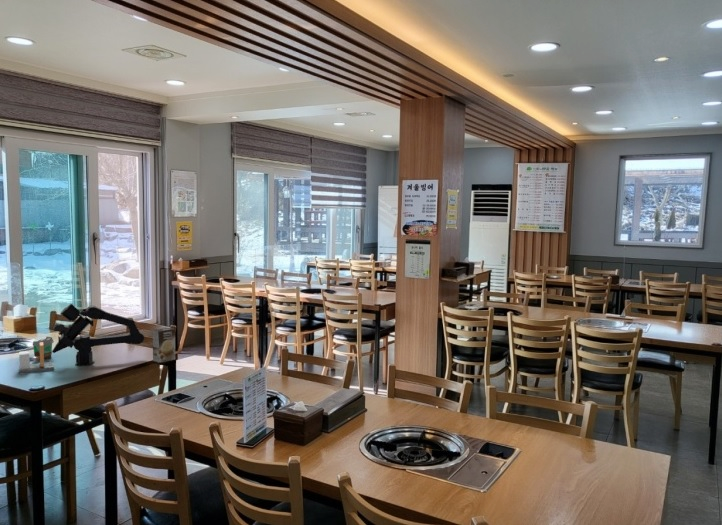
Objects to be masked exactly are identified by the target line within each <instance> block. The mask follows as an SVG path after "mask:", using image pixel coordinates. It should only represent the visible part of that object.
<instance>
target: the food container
mask: <svg viewBox="0 0 722 525" xmlns="http://www.w3.org/2000/svg"><path fill="white" fill-rule="evenodd" d="M39 342H43V345H44V361H45V360H46V361H47V360H49V359H51V358H52V353H53V352H52V351H53V343H54V338H53V337H52V336H46V337H45V338H43V339H39V340H38V341H37V340H34V341H32V346H33V353H34V354H33V355H34V356H33V357H39V356H40V344H39Z"/></svg>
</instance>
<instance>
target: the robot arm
mask: <svg viewBox="0 0 722 525" xmlns="http://www.w3.org/2000/svg"><path fill="white" fill-rule="evenodd" d="M59 315H60V316H62V317H64V318H65V319H66V320H67V321H68V322H73V323H71V324H69V325H65V324H62V323H59V322H55V324H54V326H53V328H52V330H53V332H54V331H55V332H58V341H57V342H56V344H55V346H54V347H53V348H52V353H53V354H54V353H57V352H59V351H61V350H64V349H66V348H71V349H72V348H73V347H74V349H75V350H76V351H77V352H76V355H75V364H74V365H75V366H90V365H92V364H94V363H95V361H94V360H93V357H94V356H93V347H97V346H98V347H99V346H107V345H115V344H116V345H117V344H118V345H119V344H129V345H130V344H131V345H140V344H142V343H143V342H144V340H145V336H144V334H143V333H142V332H141V331H140V330H139V329H138V327H137V325H136V322H135V320H134V319H132V318H129V317H125V316H121V315H119V314H114V313H111V312H108V311H105V310H104V309H101V308H100V307H97V306H96V305H89V306H87V307H86V308H82V309H79V308H77V307H76V306H75V305H74V304H73V303H69V305H67V306H66V307H64V308H63V309H62V311H61V312H60V314H59ZM95 320H102V321H103V320H104V321H108V322H111V323H114V324H118V325H122V326H125V327H127V329H128V331H129V332H127V333H124V334H117V335H116V334H115V335H108V336H106V335H105V336H96V337H92V336H90V334H89V333H88V334H83V335H82V332H83V331H84V330H85V329H86V328H87V327H88V326H89V325H90V326H92V327H94V321H95Z"/></svg>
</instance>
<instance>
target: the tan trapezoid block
mask: <svg viewBox="0 0 722 525" xmlns="http://www.w3.org/2000/svg"><path fill="white" fill-rule="evenodd" d="M39 344H40V356H39V357H34V356H32V357H31V356H29V358H30V363H31V362H39V363H40V367H43V366H44V363H45V360H44V345H43V342H39Z"/></svg>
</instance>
